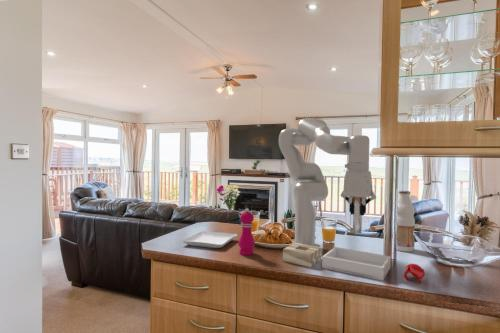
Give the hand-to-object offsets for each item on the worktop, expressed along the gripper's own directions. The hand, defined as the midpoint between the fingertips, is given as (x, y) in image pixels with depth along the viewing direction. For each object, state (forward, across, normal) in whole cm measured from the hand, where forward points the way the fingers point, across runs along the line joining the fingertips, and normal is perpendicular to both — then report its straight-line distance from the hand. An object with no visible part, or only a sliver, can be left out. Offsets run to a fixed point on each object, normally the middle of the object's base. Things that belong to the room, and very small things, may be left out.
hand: (357, 214), depth 118 cm
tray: (+21, 0, 0) cm, 21 cm away
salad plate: (+22, -69, -6) cm, 73 cm away
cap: (+21, +20, -1) cm, 29 cm away
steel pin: (+7, 0, 0) cm, 7 cm away
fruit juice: (+21, +12, +40) cm, 47 cm away
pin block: (+21, -21, -4) cm, 30 cm away
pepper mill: (+21, -45, -10) cm, 51 cm away
